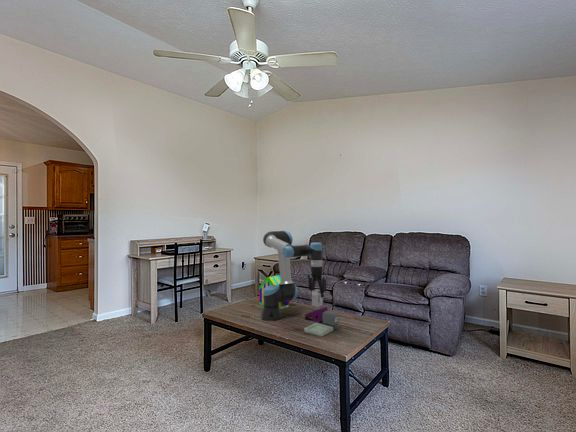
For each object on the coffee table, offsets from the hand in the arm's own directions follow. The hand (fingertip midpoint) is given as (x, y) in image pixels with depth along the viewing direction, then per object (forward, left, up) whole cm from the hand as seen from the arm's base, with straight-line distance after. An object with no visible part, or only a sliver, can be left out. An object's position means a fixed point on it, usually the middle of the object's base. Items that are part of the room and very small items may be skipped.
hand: (317, 301), depth 215 cm
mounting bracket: (-16, +20, -20) cm, 32 cm away
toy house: (-64, +29, -20) cm, 73 cm away
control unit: (+3, +11, -19) cm, 23 cm away
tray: (+1, 0, -19) cm, 19 cm away
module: (0, 0, -3) cm, 3 cm away
